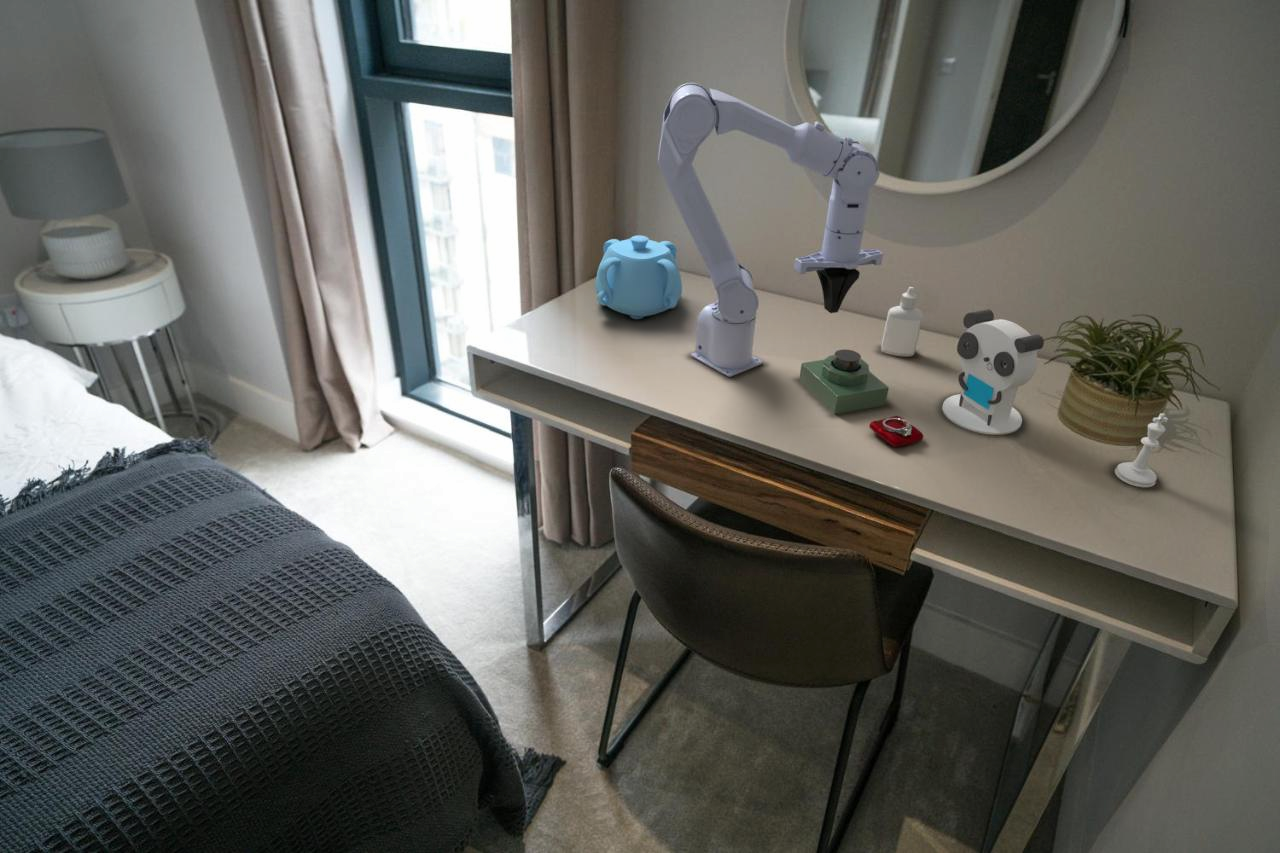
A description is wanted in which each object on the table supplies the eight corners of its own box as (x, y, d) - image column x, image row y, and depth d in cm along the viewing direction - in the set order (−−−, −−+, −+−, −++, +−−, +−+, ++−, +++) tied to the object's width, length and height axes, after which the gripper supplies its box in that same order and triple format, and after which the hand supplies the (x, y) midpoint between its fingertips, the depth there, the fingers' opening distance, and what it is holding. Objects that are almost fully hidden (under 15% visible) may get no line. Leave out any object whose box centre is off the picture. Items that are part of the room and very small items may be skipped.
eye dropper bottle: (905, 361, 134) (920, 296, 127) (876, 350, 137) (889, 286, 130) (918, 353, 136) (933, 288, 130) (888, 342, 140) (902, 279, 133)
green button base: (798, 380, 128) (802, 352, 125) (847, 372, 130) (852, 345, 127) (834, 414, 119) (839, 385, 116) (885, 405, 121) (891, 377, 119)
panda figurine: (923, 401, 123) (945, 313, 114) (979, 388, 126) (1004, 301, 118) (979, 441, 113) (1007, 348, 105) (1038, 425, 117) (1069, 334, 109)
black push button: (827, 362, 123) (829, 351, 122) (849, 359, 124) (852, 347, 123) (841, 374, 120) (843, 362, 119) (863, 371, 121) (866, 359, 120)
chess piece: (1107, 466, 109) (1133, 404, 103) (1140, 465, 109) (1168, 403, 104) (1128, 488, 105) (1156, 425, 99) (1163, 487, 105) (1193, 423, 100)
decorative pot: (587, 320, 145) (585, 249, 138) (604, 286, 159) (604, 220, 151) (674, 328, 143) (677, 256, 136) (684, 293, 157) (688, 226, 149)
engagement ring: (893, 452, 111) (897, 435, 109) (865, 431, 115) (868, 415, 113) (924, 442, 113) (928, 426, 111) (895, 422, 117) (899, 406, 116)
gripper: (815, 241, 114) (803, 326, 122) (900, 232, 118) (883, 314, 126) (792, 226, 120) (782, 308, 127) (874, 217, 124) (859, 297, 131)
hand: (831, 310), depth 127 cm, fingers closed
